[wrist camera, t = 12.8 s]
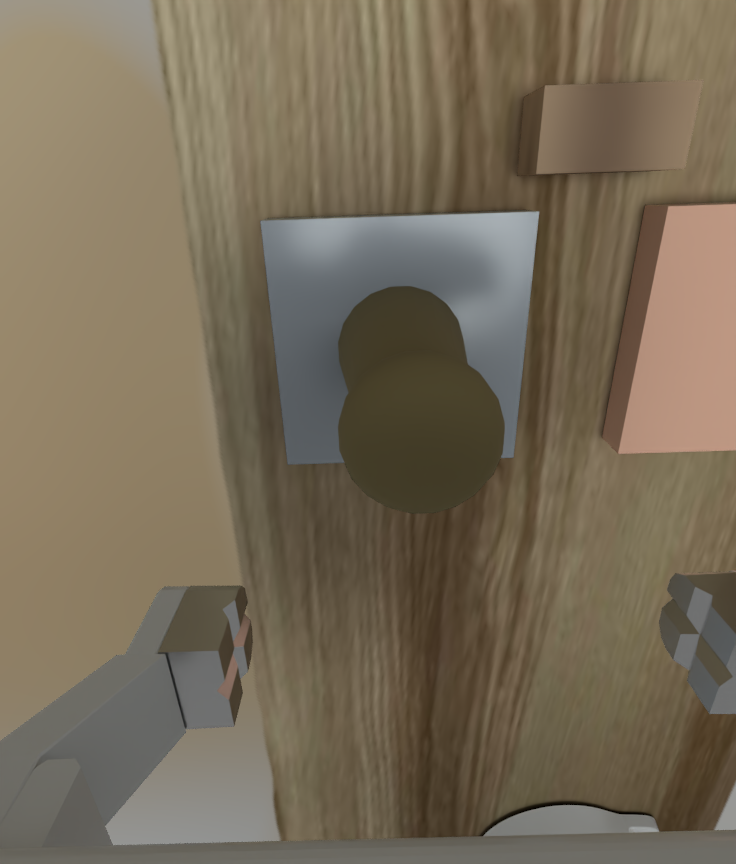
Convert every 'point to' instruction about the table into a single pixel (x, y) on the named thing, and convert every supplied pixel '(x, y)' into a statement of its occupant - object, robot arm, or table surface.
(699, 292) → the terracotta tile
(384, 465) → the olive rounded tall piece
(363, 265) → the steel tile
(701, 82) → the walnut brick
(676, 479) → the table surface
